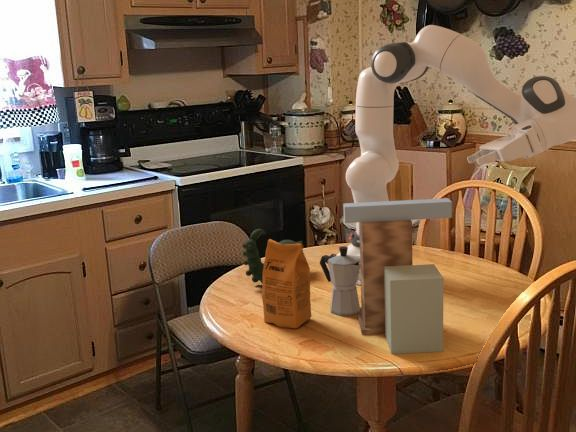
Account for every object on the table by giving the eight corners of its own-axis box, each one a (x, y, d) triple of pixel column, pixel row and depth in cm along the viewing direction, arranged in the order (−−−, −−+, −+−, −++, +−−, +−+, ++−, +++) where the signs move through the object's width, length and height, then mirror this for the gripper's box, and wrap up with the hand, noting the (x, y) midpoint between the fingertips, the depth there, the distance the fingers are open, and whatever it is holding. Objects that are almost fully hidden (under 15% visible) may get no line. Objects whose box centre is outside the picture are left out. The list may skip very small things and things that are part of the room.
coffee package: (280, 309, 182) (276, 233, 176) (317, 318, 174) (313, 239, 169) (257, 322, 174) (252, 243, 169) (294, 332, 167) (290, 249, 161)
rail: (345, 223, 160) (344, 207, 159) (343, 219, 164) (343, 203, 163) (451, 217, 159) (451, 201, 158) (447, 213, 163) (447, 198, 162)
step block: (391, 353, 152) (390, 280, 148) (385, 335, 162) (384, 266, 157) (443, 351, 152) (443, 278, 147) (433, 333, 161) (434, 264, 157)
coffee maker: (373, 310, 178) (372, 247, 173) (352, 320, 172) (350, 255, 168) (332, 298, 188) (330, 238, 184) (311, 307, 182) (308, 245, 178)
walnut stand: (361, 334, 163) (358, 226, 156) (357, 317, 174) (354, 215, 167) (418, 331, 163) (417, 223, 156) (410, 314, 174) (409, 212, 167)
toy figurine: (264, 298, 196) (316, 267, 214) (256, 237, 190) (310, 211, 208) (241, 291, 202) (294, 262, 220) (232, 233, 196) (287, 208, 214)
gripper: (508, 128, 171) (459, 148, 172) (535, 127, 151) (478, 150, 152) (517, 150, 172) (467, 170, 173) (544, 152, 151) (488, 175, 153)
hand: (472, 161), depth 162 cm, fingers open, 8 cm apart
